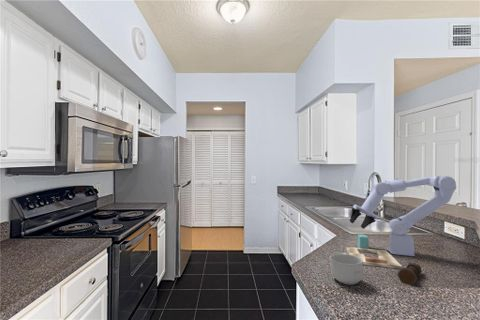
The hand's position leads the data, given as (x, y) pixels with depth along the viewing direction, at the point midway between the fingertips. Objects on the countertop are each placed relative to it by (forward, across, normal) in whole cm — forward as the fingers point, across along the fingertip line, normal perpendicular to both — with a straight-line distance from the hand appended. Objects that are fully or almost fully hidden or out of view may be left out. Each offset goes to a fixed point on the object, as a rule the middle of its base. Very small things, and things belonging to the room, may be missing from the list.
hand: (356, 225), depth 124 cm
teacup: (+13, +24, +36) cm, 45 cm away
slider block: (+8, -7, +4) cm, 12 cm away
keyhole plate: (+7, 0, +18) cm, 19 cm away
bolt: (+2, +2, +38) cm, 38 cm away
